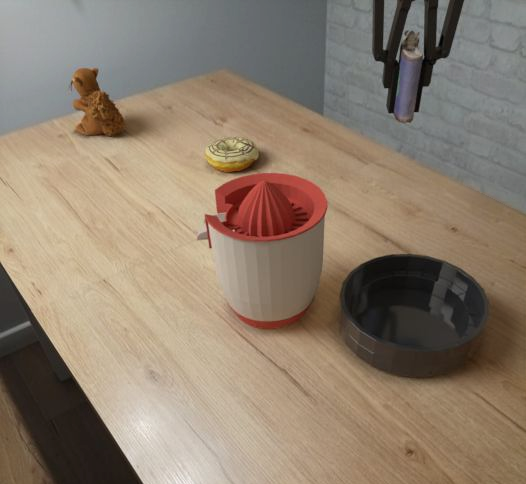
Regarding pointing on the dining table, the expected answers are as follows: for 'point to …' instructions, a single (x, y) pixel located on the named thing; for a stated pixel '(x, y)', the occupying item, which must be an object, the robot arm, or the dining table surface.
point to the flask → (408, 77)
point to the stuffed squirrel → (95, 106)
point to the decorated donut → (231, 154)
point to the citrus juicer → (267, 246)
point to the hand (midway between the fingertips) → (402, 108)
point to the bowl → (412, 314)
